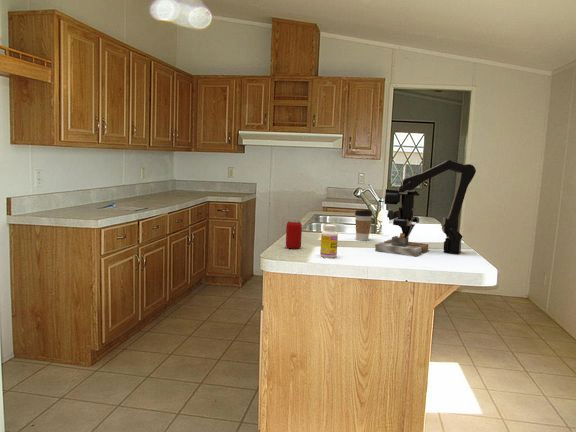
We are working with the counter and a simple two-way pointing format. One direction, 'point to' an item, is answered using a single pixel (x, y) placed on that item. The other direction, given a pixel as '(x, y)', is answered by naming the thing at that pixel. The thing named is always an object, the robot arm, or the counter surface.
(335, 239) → the supplement bottle
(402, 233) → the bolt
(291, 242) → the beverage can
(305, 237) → the counter surface
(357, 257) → the counter surface
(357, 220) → the coffee cup
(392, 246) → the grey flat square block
